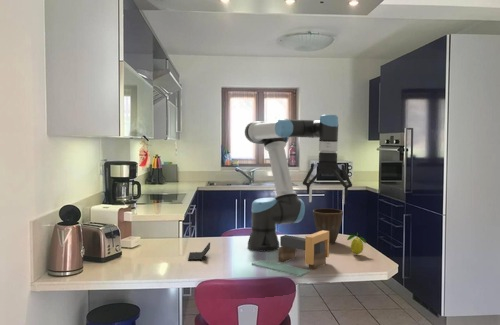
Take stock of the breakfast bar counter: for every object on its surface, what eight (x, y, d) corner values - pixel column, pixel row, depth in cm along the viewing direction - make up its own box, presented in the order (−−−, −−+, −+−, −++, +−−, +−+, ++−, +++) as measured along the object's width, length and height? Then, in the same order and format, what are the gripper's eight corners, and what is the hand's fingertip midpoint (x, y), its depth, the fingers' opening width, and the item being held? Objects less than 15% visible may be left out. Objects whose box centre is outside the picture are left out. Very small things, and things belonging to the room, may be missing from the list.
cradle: (278, 261, 169) (278, 247, 168) (290, 256, 177) (291, 243, 176) (314, 269, 158) (314, 254, 158) (325, 263, 166) (326, 249, 166)
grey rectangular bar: (280, 245, 171) (280, 236, 171) (285, 244, 175) (285, 234, 174) (320, 253, 160) (320, 243, 160) (324, 251, 163) (324, 241, 163)
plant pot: (325, 247, 193) (326, 214, 192) (306, 240, 206) (306, 209, 205) (348, 243, 200) (349, 211, 200) (328, 237, 213) (329, 207, 213)
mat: (251, 264, 164) (251, 263, 164) (261, 260, 170) (261, 259, 170) (300, 276, 150) (300, 274, 150) (309, 271, 155) (309, 270, 155)
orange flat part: (305, 263, 158) (305, 236, 158) (322, 255, 169) (322, 230, 169) (311, 264, 156) (312, 237, 156) (328, 256, 168) (329, 231, 167)
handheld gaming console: (185, 250, 179) (199, 233, 179) (197, 259, 181) (211, 242, 181) (187, 261, 168) (202, 243, 168) (200, 270, 170) (215, 252, 170)
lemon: (346, 254, 180) (347, 232, 179) (352, 252, 184) (352, 230, 184) (360, 257, 176) (361, 235, 175) (366, 254, 180) (366, 232, 180)
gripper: (296, 151, 166) (295, 202, 168) (359, 153, 160) (357, 205, 161) (299, 151, 173) (298, 199, 175) (359, 152, 167) (357, 203, 168)
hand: (326, 202), depth 168 cm, fingers open, 13 cm apart
